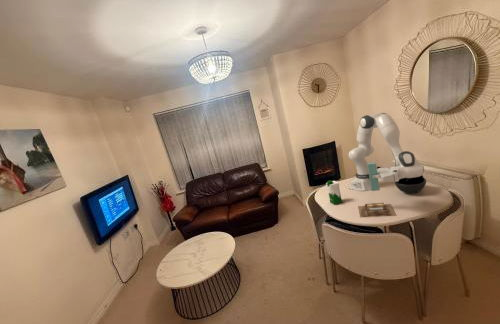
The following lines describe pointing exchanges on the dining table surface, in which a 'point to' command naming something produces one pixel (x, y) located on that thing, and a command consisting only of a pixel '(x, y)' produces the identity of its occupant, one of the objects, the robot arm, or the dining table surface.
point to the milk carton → (334, 192)
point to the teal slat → (373, 181)
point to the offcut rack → (386, 211)
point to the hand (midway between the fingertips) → (371, 175)
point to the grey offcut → (376, 209)
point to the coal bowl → (411, 184)
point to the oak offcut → (375, 206)
